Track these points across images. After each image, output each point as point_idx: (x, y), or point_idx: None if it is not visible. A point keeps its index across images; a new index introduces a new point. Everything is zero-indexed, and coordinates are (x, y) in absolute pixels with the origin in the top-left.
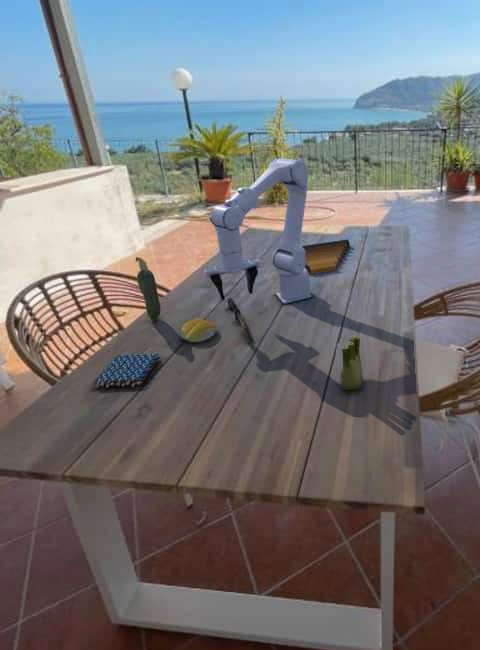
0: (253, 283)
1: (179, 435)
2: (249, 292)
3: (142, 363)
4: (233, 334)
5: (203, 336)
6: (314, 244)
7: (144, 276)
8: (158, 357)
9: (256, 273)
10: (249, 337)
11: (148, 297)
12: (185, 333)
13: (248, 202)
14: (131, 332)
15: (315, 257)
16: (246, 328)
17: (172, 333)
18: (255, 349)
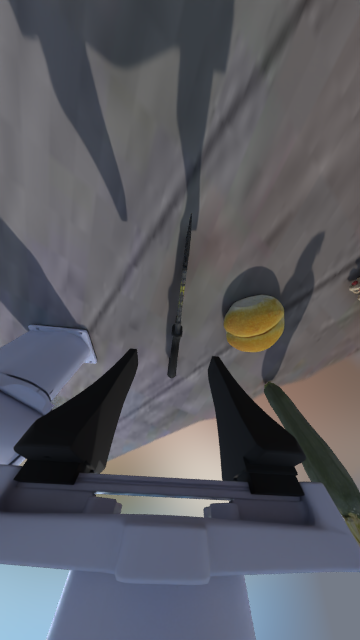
0: (104, 374)
1: None
2: (136, 355)
3: None
4: (203, 286)
5: (261, 299)
6: None
7: (355, 496)
8: (357, 282)
9: (36, 426)
10: (189, 227)
11: (308, 425)
12: (282, 323)
13: None
14: (305, 373)
15: None
16: (185, 261)
17: (273, 345)
18: (191, 181)
